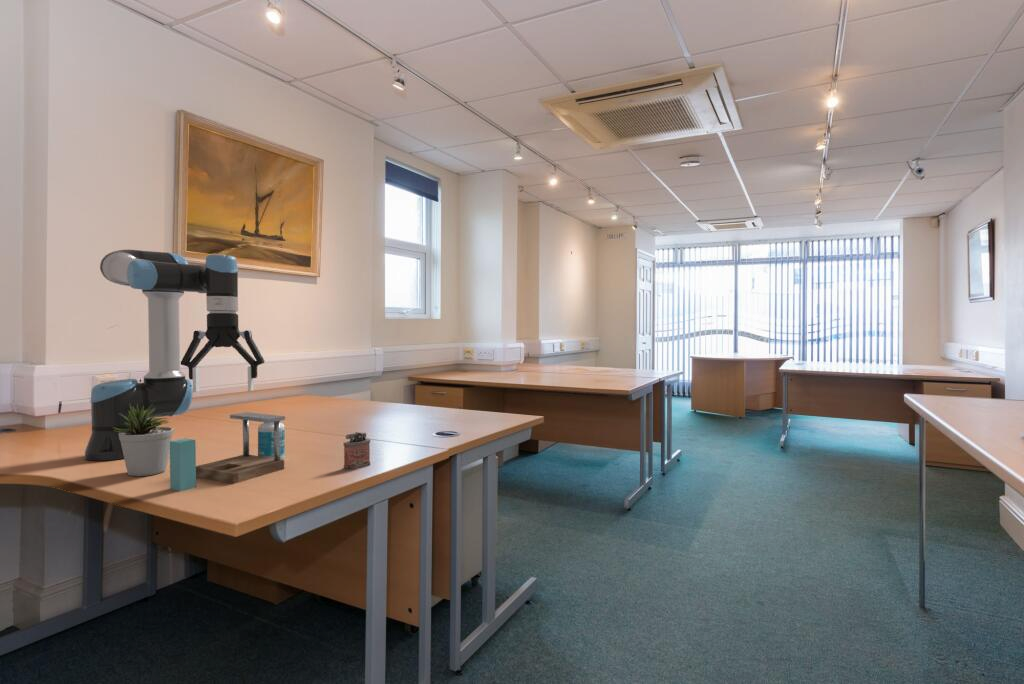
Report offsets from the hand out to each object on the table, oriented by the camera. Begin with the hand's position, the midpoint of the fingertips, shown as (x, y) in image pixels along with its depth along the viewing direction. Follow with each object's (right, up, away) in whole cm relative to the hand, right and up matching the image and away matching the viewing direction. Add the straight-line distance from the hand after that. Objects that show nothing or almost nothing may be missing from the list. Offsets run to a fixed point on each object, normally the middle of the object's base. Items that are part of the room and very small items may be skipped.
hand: (223, 391), depth 145 cm
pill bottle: (+5, -23, +17) cm, 29 cm away
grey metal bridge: (+5, -23, +9) cm, 25 cm away
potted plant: (-23, -23, +3) cm, 33 cm away
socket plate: (+2, -23, +4) cm, 23 cm away
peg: (-4, -23, -11) cm, 26 cm away
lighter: (+33, -23, +10) cm, 42 cm away
